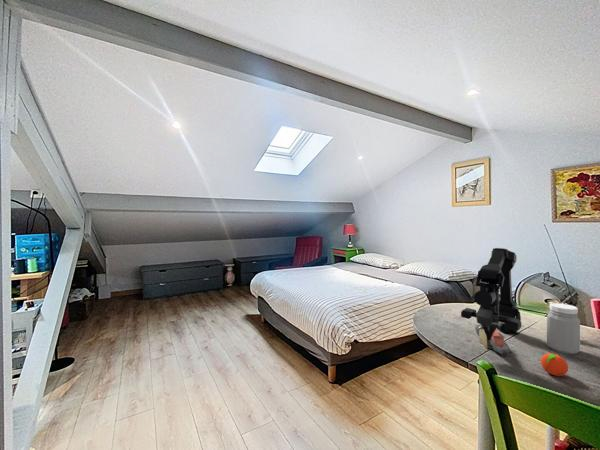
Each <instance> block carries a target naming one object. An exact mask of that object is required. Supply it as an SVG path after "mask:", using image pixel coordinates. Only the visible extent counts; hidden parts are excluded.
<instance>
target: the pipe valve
mask: <svg viewBox="0 0 600 450" xmlns="http://www.w3.org/2000/svg"><path fill="white" fill-rule="evenodd" d="M474 328H475V329H474V331H475V334H476V335H477V336H478V342H479V341H480V342H481V343H482V344H483V345H484V346H485V347H486V348H485V347H484V346H483V345H482V344H481V343H480V342H479V343H480V344H481V345H482V346H483V347H484V348H485V349H487V348H489V350H494V351H495V352H496V353H497V354H500V355H502V356H508V355H509V354H510V353H511V348H510V347H509V345H508V343H507V342H506V341H504V346H503V347H499V346H496V345H495V344H494V342H493V340H492V338H491V340H488V339H487V336H486V334H485V331H484V329H483V327H482V325H481V324H478V325H476V326H475V327H474ZM497 332H498V333H499V335H500V336H501V337H503V338H504V339H505V336H504V335H502V334H501V333H500V332H499V331H497Z"/></svg>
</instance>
